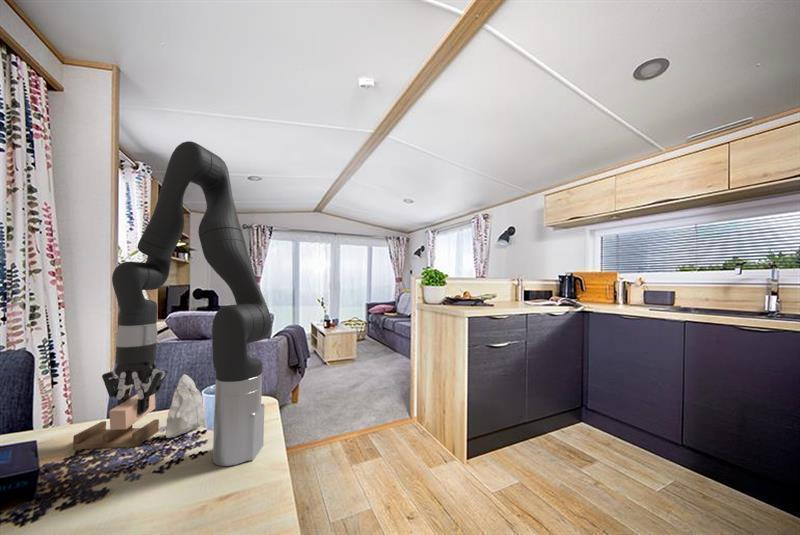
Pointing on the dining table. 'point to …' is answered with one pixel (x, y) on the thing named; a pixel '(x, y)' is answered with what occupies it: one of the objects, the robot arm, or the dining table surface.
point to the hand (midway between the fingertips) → (133, 412)
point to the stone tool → (185, 408)
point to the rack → (113, 436)
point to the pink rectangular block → (128, 413)
